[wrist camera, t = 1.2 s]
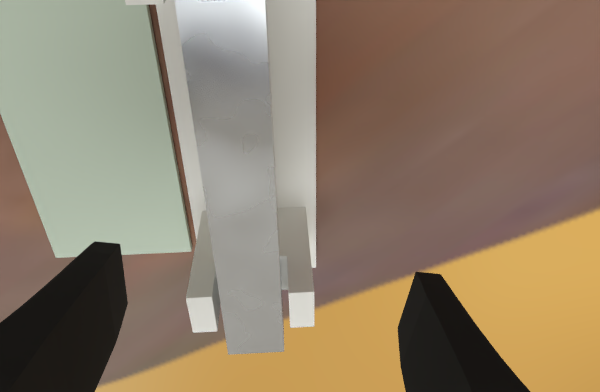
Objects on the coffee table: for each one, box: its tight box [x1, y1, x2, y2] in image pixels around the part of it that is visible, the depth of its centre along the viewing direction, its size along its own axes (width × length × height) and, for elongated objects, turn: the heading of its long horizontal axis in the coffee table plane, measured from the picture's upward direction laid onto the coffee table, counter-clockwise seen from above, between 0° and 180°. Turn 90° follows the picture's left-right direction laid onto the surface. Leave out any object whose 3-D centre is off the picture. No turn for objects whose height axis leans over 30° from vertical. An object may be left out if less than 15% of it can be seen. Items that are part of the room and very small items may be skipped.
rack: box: [125, 0, 316, 333], centre depth 19 cm, size 6×19×7 cm, turn 1°
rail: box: [175, 0, 284, 354], centre depth 18 cm, size 2×18×2 cm, turn 1°
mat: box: [0, 0, 192, 258], centre depth 22 cm, size 7×17×1 cm, turn 1°
